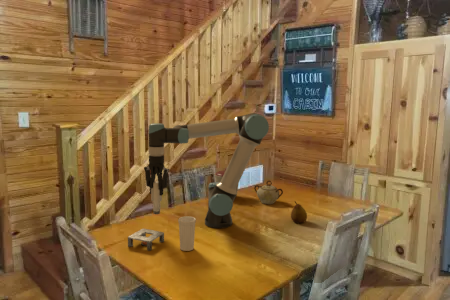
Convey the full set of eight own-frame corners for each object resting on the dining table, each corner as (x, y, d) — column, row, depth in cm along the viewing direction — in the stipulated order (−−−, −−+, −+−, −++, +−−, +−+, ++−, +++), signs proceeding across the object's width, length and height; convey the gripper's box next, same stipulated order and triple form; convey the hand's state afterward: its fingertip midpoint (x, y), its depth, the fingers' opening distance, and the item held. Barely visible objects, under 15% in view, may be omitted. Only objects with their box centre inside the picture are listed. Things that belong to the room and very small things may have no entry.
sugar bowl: (285, 201, 247) (286, 180, 245) (278, 207, 234) (279, 184, 232) (257, 197, 255) (258, 176, 253) (249, 203, 242) (250, 181, 240)
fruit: (309, 221, 209) (310, 201, 207) (300, 225, 202) (302, 204, 200) (296, 218, 215) (297, 198, 213) (287, 221, 208) (288, 201, 206)
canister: (240, 201, 245) (241, 170, 242) (213, 200, 246) (213, 170, 242) (239, 194, 263) (240, 165, 260) (214, 193, 263) (214, 164, 260)
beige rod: (161, 212, 187) (161, 182, 184) (157, 214, 184) (157, 183, 182) (155, 211, 188) (155, 181, 186) (152, 213, 185) (152, 182, 183)
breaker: (151, 242, 175) (151, 239, 174) (147, 245, 171) (147, 241, 171) (145, 241, 176) (145, 237, 176) (140, 243, 173) (140, 240, 172)
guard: (164, 241, 177) (164, 232, 176) (150, 251, 166) (149, 241, 165) (143, 237, 181) (142, 228, 181) (128, 246, 170) (127, 236, 170)
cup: (188, 254, 164) (188, 223, 161) (174, 249, 168) (174, 219, 166) (199, 247, 170) (199, 218, 168) (185, 243, 175) (185, 215, 172)
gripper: (174, 155, 182) (174, 201, 186) (146, 152, 188) (147, 196, 191) (166, 157, 175) (166, 205, 179) (138, 154, 181) (138, 200, 185)
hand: (156, 200), depth 185 cm, fingers closed on beige rod, 3 cm apart
